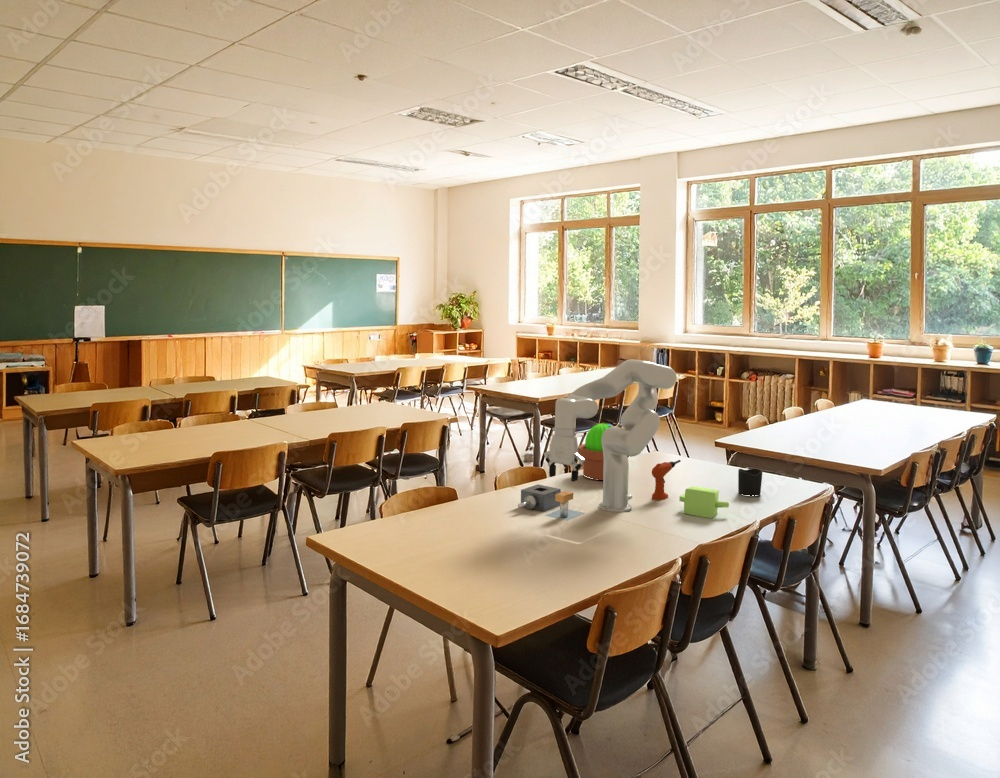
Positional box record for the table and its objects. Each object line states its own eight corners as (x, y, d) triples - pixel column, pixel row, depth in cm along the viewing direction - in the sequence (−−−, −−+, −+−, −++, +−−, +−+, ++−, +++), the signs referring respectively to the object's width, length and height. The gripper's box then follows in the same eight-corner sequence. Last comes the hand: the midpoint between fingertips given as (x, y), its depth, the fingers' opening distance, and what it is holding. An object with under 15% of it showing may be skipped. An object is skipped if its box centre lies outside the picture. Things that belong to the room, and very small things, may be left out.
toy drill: (686, 489, 307) (684, 454, 304) (659, 503, 295) (657, 467, 292) (676, 486, 311) (674, 452, 308) (649, 500, 299) (647, 465, 296)
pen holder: (756, 498, 299) (758, 474, 298) (734, 494, 305) (735, 471, 304) (764, 493, 307) (765, 470, 306) (741, 490, 312) (742, 466, 311)
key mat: (563, 509, 283) (563, 508, 283) (585, 514, 277) (585, 513, 276) (544, 516, 274) (544, 515, 274) (567, 521, 267) (567, 520, 267)
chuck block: (537, 501, 294) (537, 484, 293) (560, 506, 287) (560, 488, 286) (507, 512, 279) (507, 494, 278) (531, 517, 272) (531, 499, 271)
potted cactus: (570, 479, 330) (571, 423, 326) (588, 468, 349) (589, 416, 346) (617, 485, 319) (619, 428, 316) (633, 474, 339) (635, 420, 335)
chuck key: (564, 513, 275) (565, 490, 274) (572, 515, 273) (573, 492, 272) (555, 517, 270) (555, 494, 269) (563, 519, 268) (563, 496, 267)
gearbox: (730, 515, 278) (732, 490, 277) (724, 520, 270) (726, 495, 269) (683, 507, 287) (685, 483, 286) (676, 512, 279) (677, 487, 278)
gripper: (539, 430, 270) (538, 476, 272) (579, 436, 259) (577, 484, 261) (551, 428, 276) (549, 473, 278) (590, 434, 265) (588, 480, 267)
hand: (563, 478), depth 270 cm, fingers open, 9 cm apart
